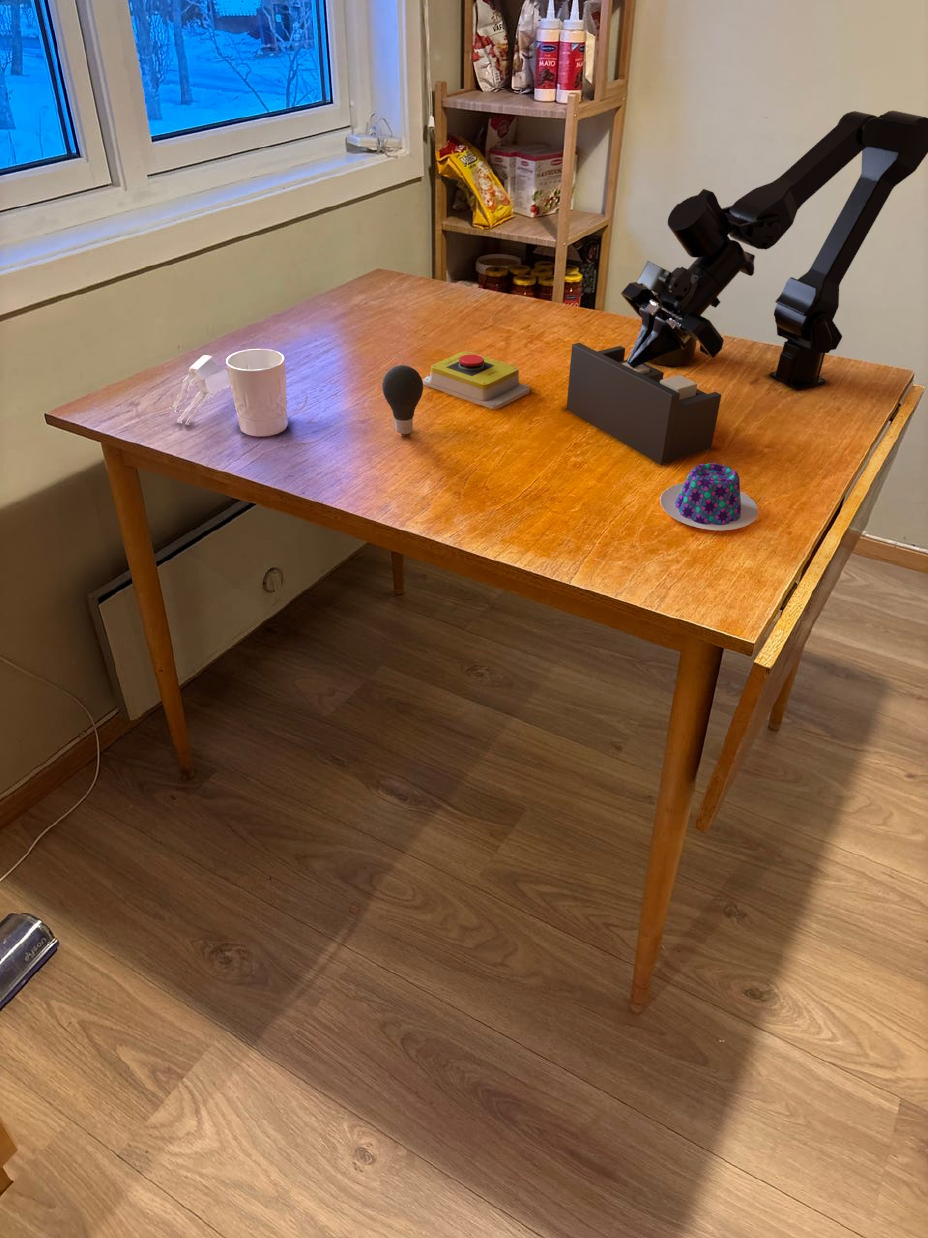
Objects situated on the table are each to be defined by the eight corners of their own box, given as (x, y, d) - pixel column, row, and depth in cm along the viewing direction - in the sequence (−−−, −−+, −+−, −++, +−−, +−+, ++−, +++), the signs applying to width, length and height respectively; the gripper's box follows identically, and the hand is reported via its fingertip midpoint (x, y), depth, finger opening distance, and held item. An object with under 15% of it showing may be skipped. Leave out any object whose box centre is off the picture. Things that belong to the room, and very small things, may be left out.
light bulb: (394, 446, 128) (391, 377, 122) (378, 430, 132) (374, 362, 125) (430, 438, 130) (429, 370, 124) (413, 422, 134) (412, 355, 128)
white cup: (301, 419, 134) (294, 353, 128) (275, 442, 128) (267, 373, 122) (253, 411, 136) (244, 345, 130) (225, 433, 130) (214, 365, 124)
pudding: (771, 534, 111) (780, 495, 107) (673, 537, 110) (680, 498, 107) (739, 485, 120) (747, 448, 117) (649, 487, 119) (654, 451, 116)
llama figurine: (205, 457, 137) (262, 373, 145) (174, 403, 127) (237, 316, 135) (195, 455, 137) (252, 371, 145) (163, 400, 128) (226, 314, 136)
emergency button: (458, 340, 148) (533, 364, 141) (458, 366, 151) (532, 391, 143) (419, 356, 142) (496, 382, 135) (420, 383, 145) (495, 410, 137)
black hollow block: (614, 395, 142) (621, 332, 136) (711, 448, 128) (724, 380, 122) (566, 409, 138) (571, 344, 132) (661, 465, 124) (672, 395, 118)
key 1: (631, 372, 136) (633, 360, 135) (648, 381, 134) (650, 368, 133) (613, 377, 135) (614, 365, 133) (629, 386, 132) (631, 373, 131)
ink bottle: (647, 343, 160) (656, 273, 153) (698, 351, 158) (710, 279, 150) (634, 363, 153) (644, 290, 146) (687, 371, 150) (700, 297, 143)
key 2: (677, 387, 129) (679, 374, 128) (695, 396, 127) (697, 383, 126) (658, 393, 128) (660, 379, 126) (676, 402, 125) (678, 388, 124)
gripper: (640, 223, 131) (566, 310, 134) (721, 259, 118) (637, 354, 121) (677, 273, 139) (606, 355, 141) (758, 312, 125) (677, 402, 128)
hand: (629, 365), depth 133 cm, fingers closed, pressing on key 1
